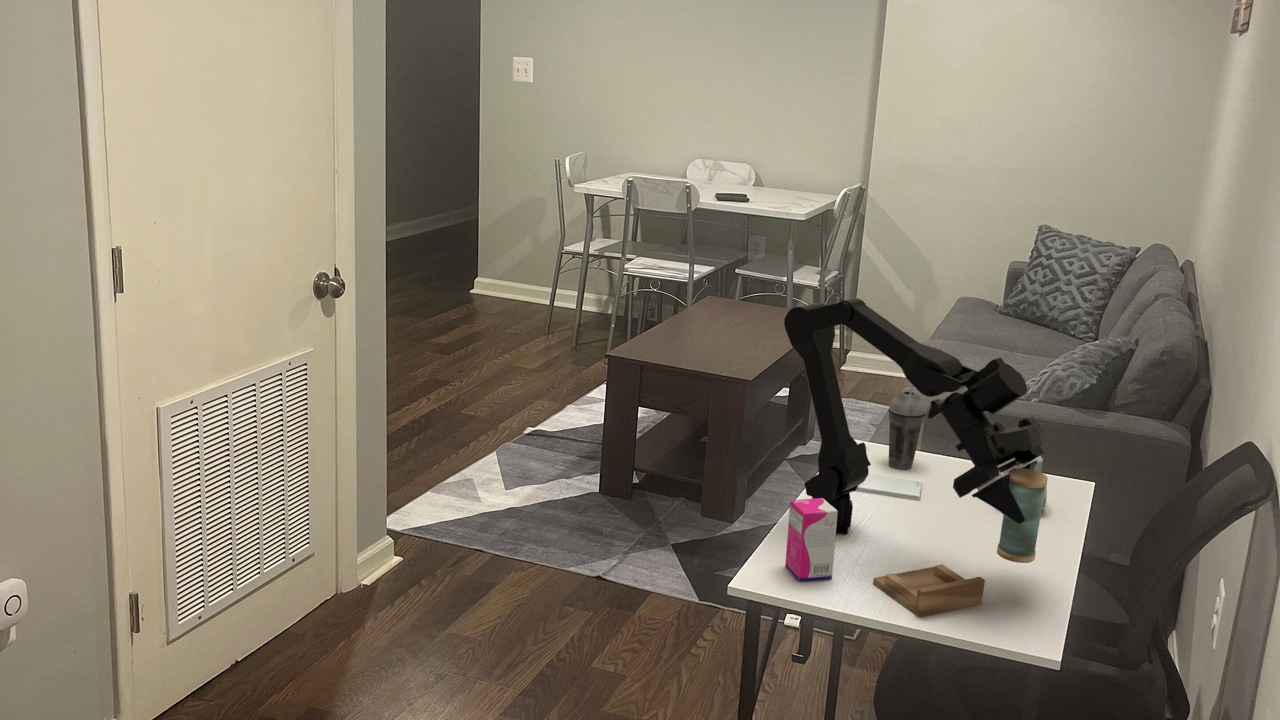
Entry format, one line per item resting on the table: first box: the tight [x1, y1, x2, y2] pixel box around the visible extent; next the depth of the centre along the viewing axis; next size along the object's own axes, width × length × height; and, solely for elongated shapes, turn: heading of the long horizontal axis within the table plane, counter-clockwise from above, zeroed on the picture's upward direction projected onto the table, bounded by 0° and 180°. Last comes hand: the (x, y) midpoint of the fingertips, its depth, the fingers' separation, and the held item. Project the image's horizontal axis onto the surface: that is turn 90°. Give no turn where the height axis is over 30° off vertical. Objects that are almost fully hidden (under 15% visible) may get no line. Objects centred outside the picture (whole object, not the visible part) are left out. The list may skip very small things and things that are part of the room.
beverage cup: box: [887, 383, 926, 471], centre depth 221 cm, size 7×7×20 cm
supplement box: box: [785, 498, 838, 583], centre depth 173 cm, size 6×6×12 cm
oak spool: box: [996, 468, 1048, 564], centre depth 167 cm, size 6×6×13 cm
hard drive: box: [855, 473, 923, 502], centre depth 211 cm, size 2×8×12 cm
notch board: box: [872, 564, 986, 618], centre depth 169 cm, size 11×12×4 cm
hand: (1030, 517), depth 166 cm, fingers closed on oak spool, 5 cm apart
